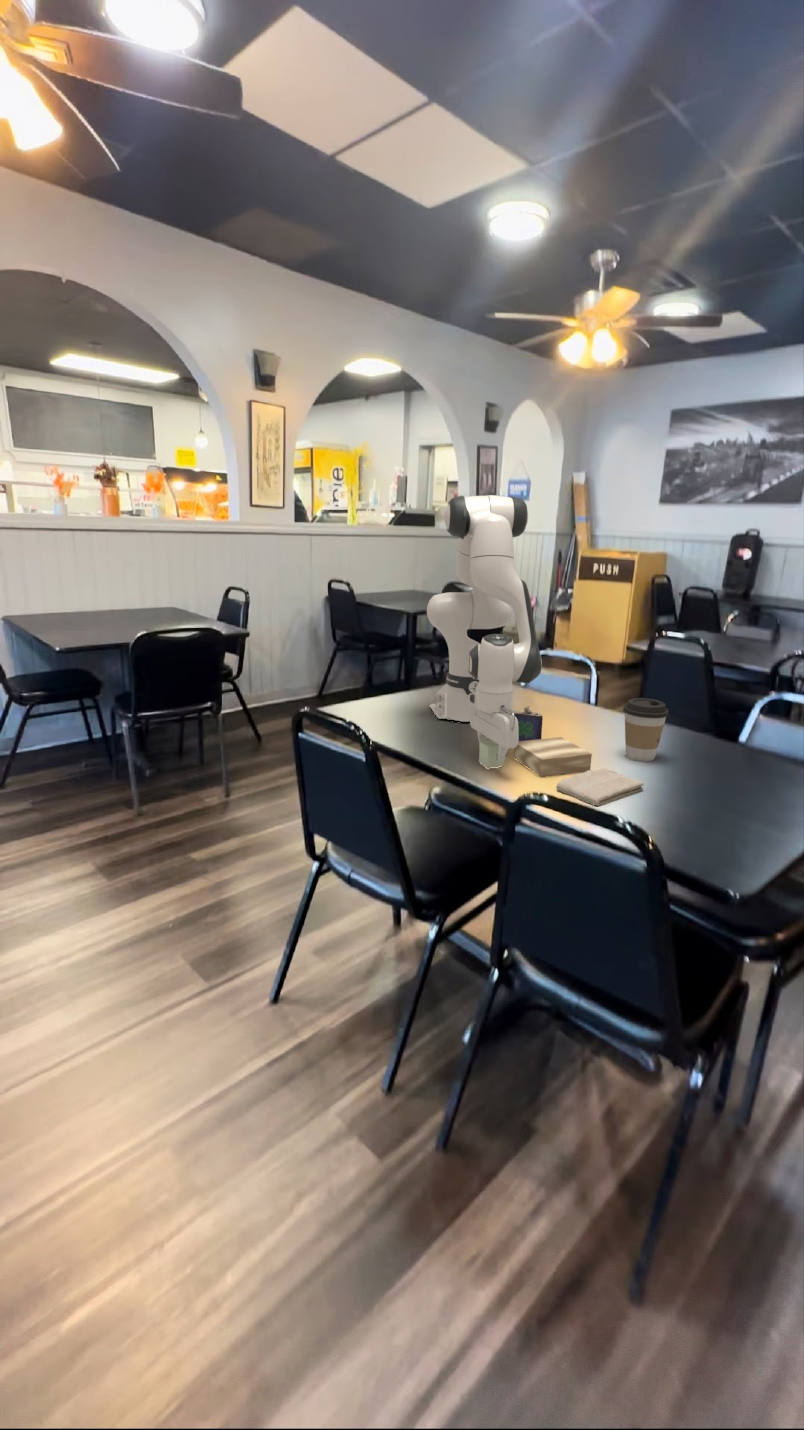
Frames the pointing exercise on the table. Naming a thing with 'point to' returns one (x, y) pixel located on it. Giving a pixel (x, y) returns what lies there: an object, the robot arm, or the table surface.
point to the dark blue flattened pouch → (529, 724)
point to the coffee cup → (643, 727)
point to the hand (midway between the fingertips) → (491, 754)
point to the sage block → (489, 754)
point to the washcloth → (599, 786)
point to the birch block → (552, 756)
